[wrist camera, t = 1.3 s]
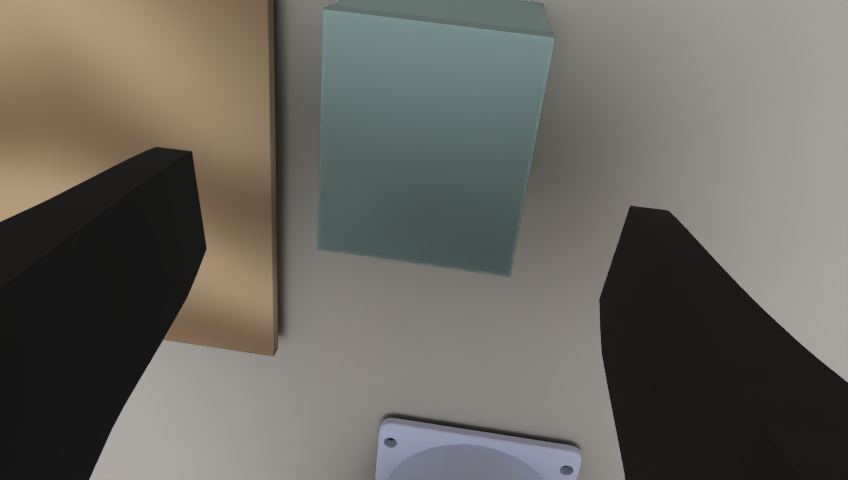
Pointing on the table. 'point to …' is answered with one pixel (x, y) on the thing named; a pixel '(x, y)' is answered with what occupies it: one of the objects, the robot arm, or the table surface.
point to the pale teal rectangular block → (429, 128)
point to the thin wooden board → (155, 131)
